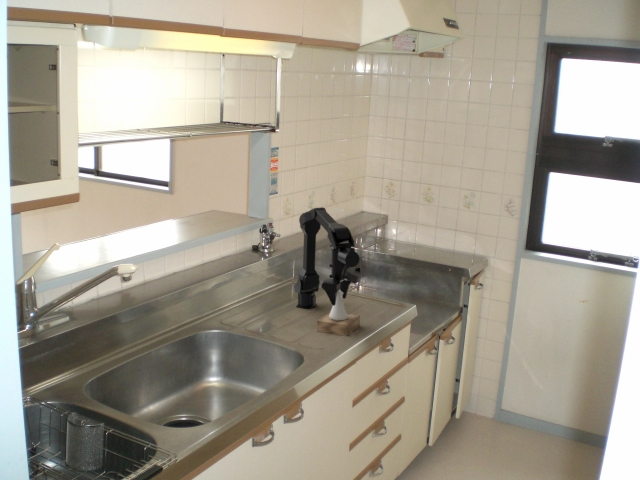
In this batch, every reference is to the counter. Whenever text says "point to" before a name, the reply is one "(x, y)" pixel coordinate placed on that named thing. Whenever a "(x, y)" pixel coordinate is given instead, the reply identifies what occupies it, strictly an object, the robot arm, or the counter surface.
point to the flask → (338, 309)
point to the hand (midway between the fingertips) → (339, 301)
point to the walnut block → (338, 325)
